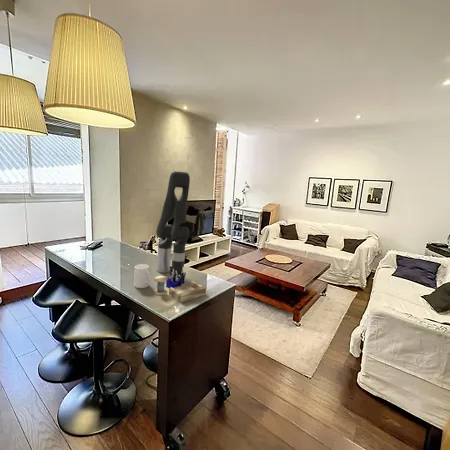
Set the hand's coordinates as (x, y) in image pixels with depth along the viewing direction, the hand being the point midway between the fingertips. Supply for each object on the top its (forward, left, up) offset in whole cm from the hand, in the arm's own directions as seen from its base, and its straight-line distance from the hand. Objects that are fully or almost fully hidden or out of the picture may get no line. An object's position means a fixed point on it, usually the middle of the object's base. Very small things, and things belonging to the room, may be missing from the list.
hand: (176, 284), depth 156 cm
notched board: (+13, -2, 0) cm, 14 cm away
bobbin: (+2, -13, 0) cm, 13 cm away
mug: (-11, -17, -1) cm, 20 cm away
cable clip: (0, 0, -1) cm, 1 cm away
